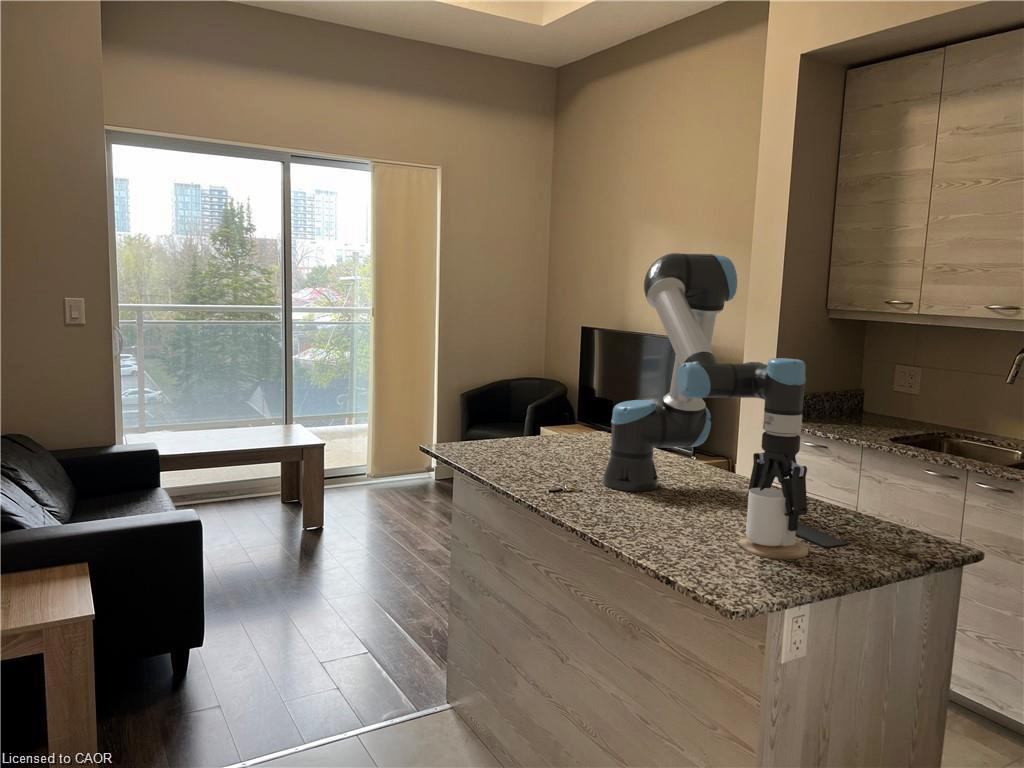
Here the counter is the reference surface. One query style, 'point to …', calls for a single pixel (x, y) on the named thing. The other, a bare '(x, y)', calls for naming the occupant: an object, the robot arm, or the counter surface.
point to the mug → (765, 516)
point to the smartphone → (818, 537)
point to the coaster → (774, 550)
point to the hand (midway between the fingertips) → (773, 537)
